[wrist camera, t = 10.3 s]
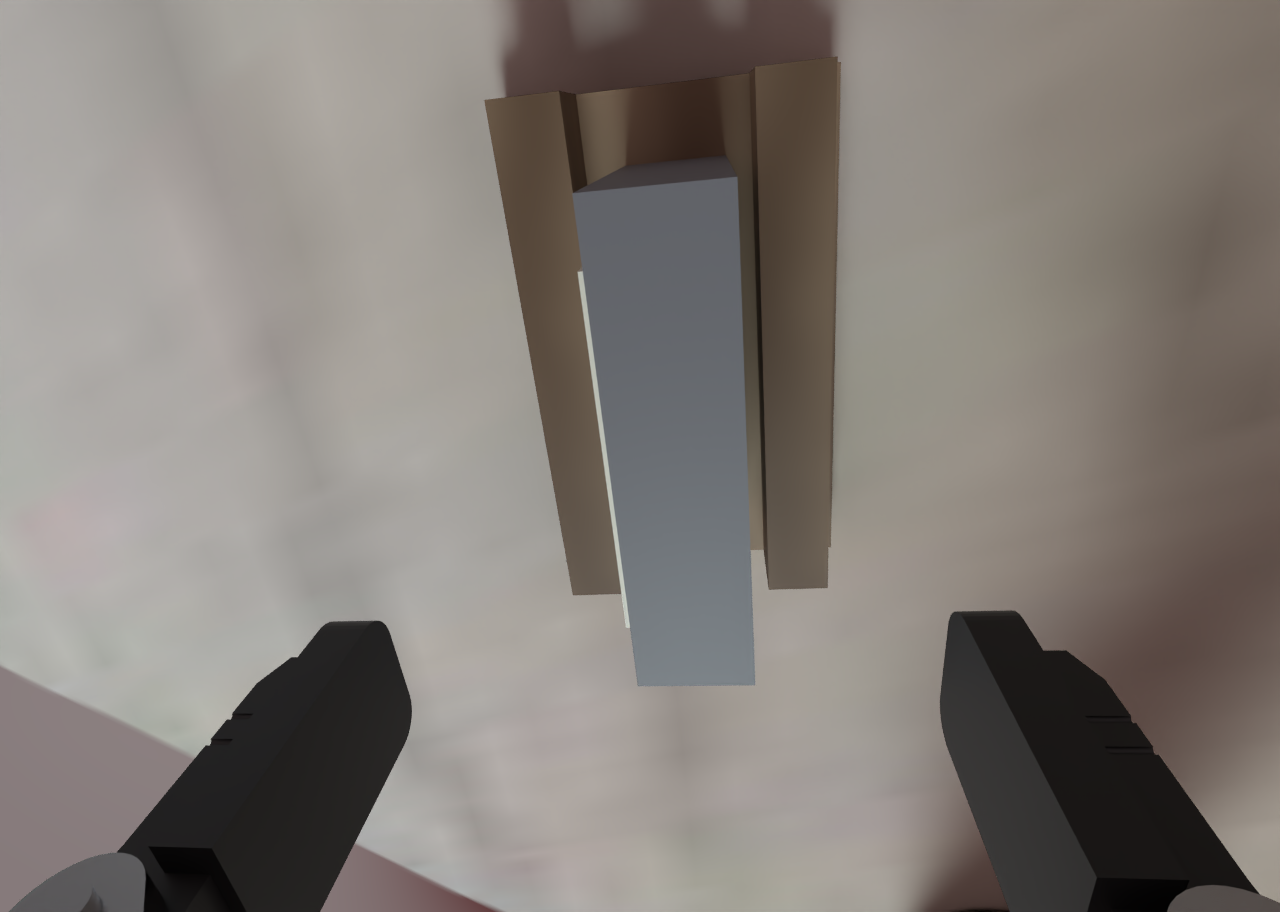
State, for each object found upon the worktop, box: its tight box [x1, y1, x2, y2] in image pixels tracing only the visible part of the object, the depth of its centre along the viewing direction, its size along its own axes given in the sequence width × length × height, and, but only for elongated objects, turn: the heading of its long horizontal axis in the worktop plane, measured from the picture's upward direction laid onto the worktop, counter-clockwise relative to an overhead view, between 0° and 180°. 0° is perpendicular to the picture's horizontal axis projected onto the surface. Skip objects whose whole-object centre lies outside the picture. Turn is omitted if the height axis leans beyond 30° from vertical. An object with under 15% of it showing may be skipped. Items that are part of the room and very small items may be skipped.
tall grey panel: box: [572, 155, 755, 686], centre depth 19 cm, size 3×12×9 cm, turn 6°
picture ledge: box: [484, 56, 841, 595], centre depth 22 cm, size 10×16×4 cm, turn 6°
